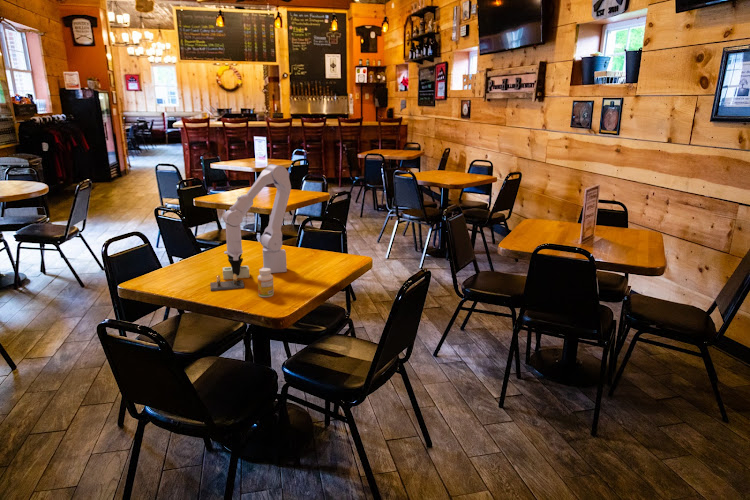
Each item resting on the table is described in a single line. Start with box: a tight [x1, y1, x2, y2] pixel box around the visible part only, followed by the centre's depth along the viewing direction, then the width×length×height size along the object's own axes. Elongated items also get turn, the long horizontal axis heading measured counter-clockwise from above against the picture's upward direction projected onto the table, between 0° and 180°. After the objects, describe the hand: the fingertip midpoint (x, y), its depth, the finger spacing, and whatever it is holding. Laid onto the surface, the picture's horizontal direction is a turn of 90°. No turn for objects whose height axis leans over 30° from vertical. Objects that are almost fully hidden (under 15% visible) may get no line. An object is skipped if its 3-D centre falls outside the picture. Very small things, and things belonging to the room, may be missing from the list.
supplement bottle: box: [257, 267, 275, 298], centre depth 181 cm, size 5×5×10 cm
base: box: [210, 274, 245, 292], centre depth 191 cm, size 12×7×4 cm, turn 108°
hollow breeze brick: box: [222, 265, 250, 280], centre depth 203 cm, size 10×5×4 cm, turn 108°
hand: (236, 273), depth 203 cm, fingers closed on hollow breeze brick, 5 cm apart
